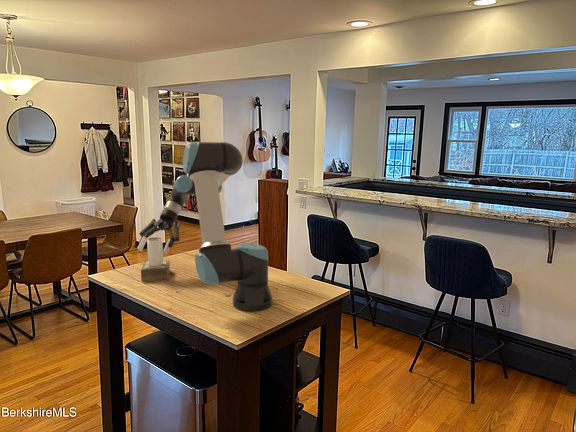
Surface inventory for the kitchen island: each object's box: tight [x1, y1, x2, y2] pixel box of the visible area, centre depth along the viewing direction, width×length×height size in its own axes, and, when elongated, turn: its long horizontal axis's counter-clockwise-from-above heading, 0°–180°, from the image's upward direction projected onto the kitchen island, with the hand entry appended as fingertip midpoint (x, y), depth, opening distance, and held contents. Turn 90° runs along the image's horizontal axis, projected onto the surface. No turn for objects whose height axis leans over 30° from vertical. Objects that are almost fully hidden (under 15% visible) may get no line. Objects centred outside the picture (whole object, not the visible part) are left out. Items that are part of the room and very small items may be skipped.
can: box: [146, 236, 164, 266], centre depth 188 cm, size 6×6×12 cm
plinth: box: [140, 260, 171, 282], centre depth 189 cm, size 13×11×5 cm
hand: (151, 251), depth 185 cm, fingers open, 13 cm apart
